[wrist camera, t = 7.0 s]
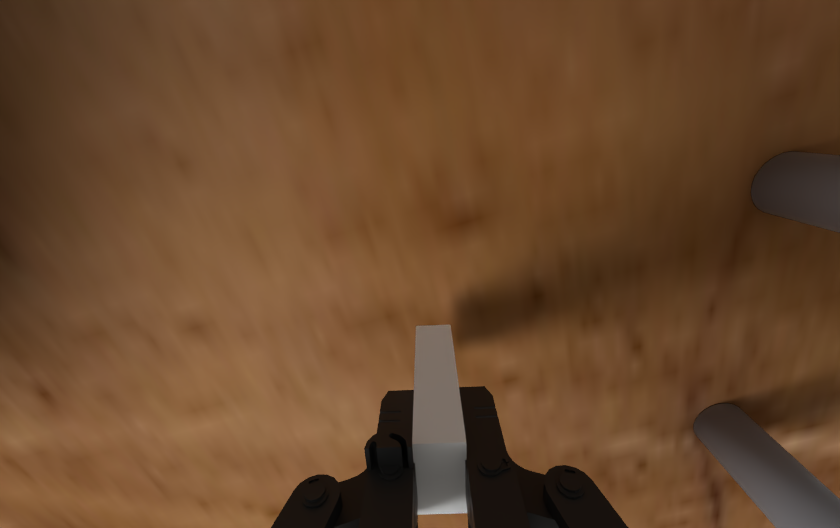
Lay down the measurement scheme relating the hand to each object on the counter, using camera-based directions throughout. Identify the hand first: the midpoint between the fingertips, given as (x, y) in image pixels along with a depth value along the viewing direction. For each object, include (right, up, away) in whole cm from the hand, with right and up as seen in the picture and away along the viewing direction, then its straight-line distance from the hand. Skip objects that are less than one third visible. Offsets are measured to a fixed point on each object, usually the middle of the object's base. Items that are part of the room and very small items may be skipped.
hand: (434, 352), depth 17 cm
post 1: (+15, -5, +4) cm, 16 cm away
